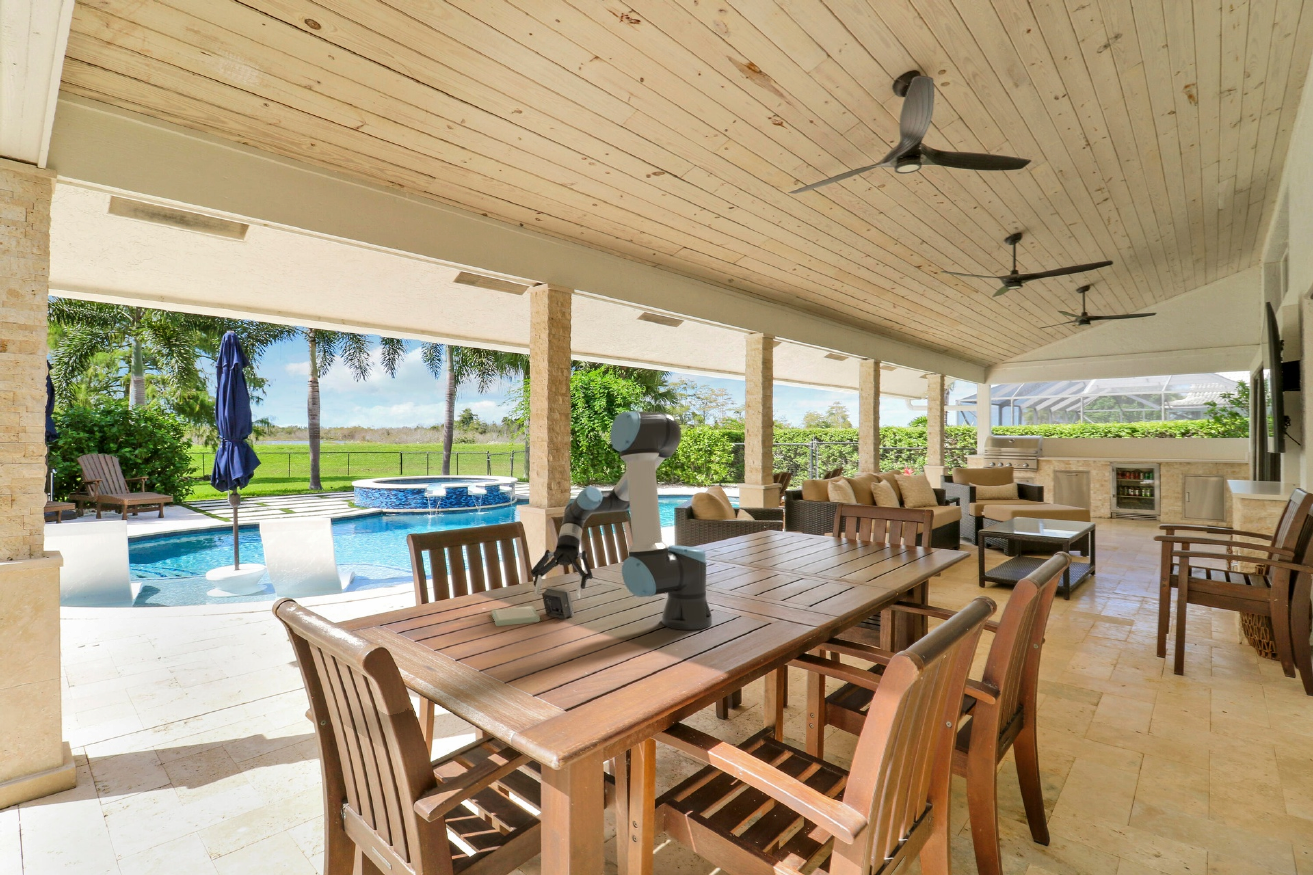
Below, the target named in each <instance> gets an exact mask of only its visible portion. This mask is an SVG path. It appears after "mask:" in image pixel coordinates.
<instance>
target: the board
mask: <svg viewBox="0 0 1313 875" xmlns="http://www.w3.org/2000/svg"><path fill="white" fill-rule="evenodd" d="M490 611H491V612H490V613H491V614H490V615H491V617H492V619H494V620H493V621H495V622H494V624H495V626H496V627H502V626H511V625H512V626H513V625H520V624H521V625H522V624H530V623H531V624H533V623H538V622H539V621H540V620H541V617H540V615H539V614H538V612H537V611H536V609H535V608H534V606H533V605H529V606H528V605H527V606H518V607H508V608H507V607H506V608H499V609H491V610H490ZM540 622H541V621H540ZM540 622H539V623H540Z"/></svg>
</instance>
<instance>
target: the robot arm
mask: <svg viewBox="0 0 1313 875" xmlns="http://www.w3.org/2000/svg"><path fill="white" fill-rule="evenodd" d="M614 418H615V419H614V421H613V422H612V425H611V427H610V432H609V433H610V434H609V435H610V436H609V437H610V444H611V445H612V447H613V449H614V450H616V451H617V452H619V458H620V459H621V460H622V461H623V462H624V463H625V467H626V468H625V470H626V471H625V472H624V474H623V475H622V476H621V478H620V479H619V480H618V482H617V483H615V484H616V485H615V486H613V488H612V489H611V490H609V489H607V490H600V489H599V488H598V487H594V486H593V485H592V486H591V485H588V486H586V487H584V488H583V489H582V491H581V490H580V492H579V493H578V495H576V497H575V499H572V500H569V501H568V502H567V504H566V507H565V508H564V512H563V513H564V514H563V518H562V522H561V526H560V530H559V535H558V539H557V544H556V547H555V550H554V551H550V550H549V549H546V550H545V552H544V554H543V556H542V557H541V558H540V559H539V561H538V562H537V563H536V564H535V565H534V566H533V568H531V570H530V574H531V577H532V578H534V580H533V586H534V592H533V595H534V596H535V598H539V596H540V591H541V587H542V583H543V577H544V576H545V575H547V574H548V573H549V572H550V571H552V570H553V568H556V567H558V566H570V565H572V566H573V568H574V569H575V571H576V572H577V573H578V574H579V577H578V583H577V587H576V593H575V595H576V598H577V599H578V600H580V599H581V596H582V595H581V594H582V591H583V590H582V589H585V588H586V585H587V581H588V580H589V579H590V580H592V579H594V577H593V572H592V570H591V567H590V565H589V562H588V556H587V551H586V550H583V551H582V552H579V550H580V546H581V540H582V536H583V535H582V534H583V530H584V527H585V523H586V521H587V520H588V519H589V517H590V516H591V515H592V514H601V513H602V514H603V513H612V512H613V513H614V512H615V513H616V512H626V511H629V513H630V524H631V535H632V536H631V537H632V546H630V548H629V549H628V557H627V558H626V559H625V560H624V561H623V562H622V566H621V576H622V579H623V583H624V585H625V587H626V589H627V590H628V591H629V592H630V593H631V594H632V596H635V597H637V598H649V597H650V598H652V597H654V596H659V595H663V594H667V599H666V602H665V605H664V608H663V612H662V615H661V623H662V625H663V626H665V627H667V628H671V629H675V630H681V631H693V630H701V629H706V628H708V627H710V626H711V625H712V622H713V620H712V619H713V618H712V617H713V616H712V613H711V612H712V611H711V610H710V606H709V602H708V600H707V564H708V563H707V556H706V551H705V550H704V549H702V548H699V547H694V546H685V545H674V544H673V545H672V544H671V545H669V546H668V545H666V544H665V542H663V538H662V537H663V536H662V530H661V529H662V528H661V525H662V524H661V516H660V506H659V493H658V485H657V474H656V473H657V472H656V470H658V468H659V466H660V465H661V464H662V463H663V462H664V461H665V459H670V458H671V457H672V456H673V454H674V453H675V452H676V451H677V450H678V448H679V446H680V443H681V439H682V429H681V426H680V423H679V421H677V419H676V418H675V417H674V416H673V415H671V414H669V413H666V412H663V411H659V412H658V411H641V410H640V411H639V410H633V411H632V410H631V411H630V410H629V411H623V412H621V413H619V414H617V416H616V417H614ZM578 558H580V559H581V561H583V565H584V568H585V570H586V572H585V571H584V570H583V568H582V567H581V566H580V565H579V563H578V562H577V560H578ZM549 560H550V561H549Z"/></svg>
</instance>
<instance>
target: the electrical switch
mask: <svg viewBox="0 0 1313 875" xmlns="http://www.w3.org/2000/svg"><path fill="white" fill-rule="evenodd" d="M541 596H542V600H543V605H544V606H543V607H544V609H545V615H546V616H548V615H549V617H554V618H557V617H558V618H557V619H562V620H563V619H564V620H566V619H567V618H568V617H571V618H572V617H573V616H575V611H574V607H573V602H572V597H571V593H570V590H569V589H567V588H561V587H557V586H550V585H547V586H546V587H545V591H543V592H542V593H541Z"/></svg>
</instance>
